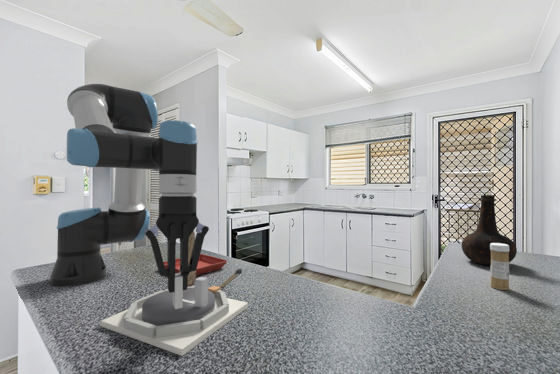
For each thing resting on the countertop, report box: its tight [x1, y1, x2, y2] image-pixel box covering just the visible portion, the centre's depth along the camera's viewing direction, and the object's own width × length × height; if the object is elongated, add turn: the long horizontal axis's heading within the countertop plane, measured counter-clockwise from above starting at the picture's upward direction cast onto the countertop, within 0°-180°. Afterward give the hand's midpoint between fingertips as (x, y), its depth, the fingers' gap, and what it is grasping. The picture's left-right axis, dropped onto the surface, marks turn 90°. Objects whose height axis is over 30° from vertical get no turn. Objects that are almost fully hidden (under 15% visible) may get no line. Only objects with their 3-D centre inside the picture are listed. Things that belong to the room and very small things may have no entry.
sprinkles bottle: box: [490, 243, 510, 291], centre depth 82 cm, size 5×5×14 cm
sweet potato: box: [179, 230, 197, 287], centre depth 84 cm, size 6×18×6 cm
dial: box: [142, 276, 215, 326], centre depth 63 cm, size 16×16×8 cm
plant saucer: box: [163, 253, 228, 276], centre depth 101 cm, size 18×18×3 cm
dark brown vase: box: [460, 194, 518, 267], centre depth 109 cm, size 18×18×28 cm
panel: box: [100, 285, 249, 357], centre depth 63 cm, size 24×22×4 cm
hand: (177, 305), depth 57 cm, fingers closed
